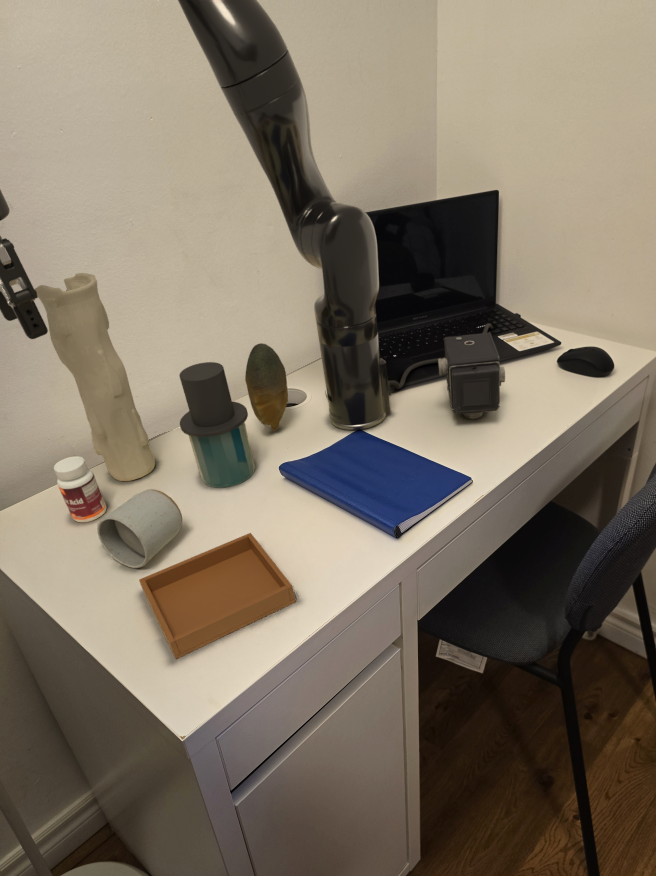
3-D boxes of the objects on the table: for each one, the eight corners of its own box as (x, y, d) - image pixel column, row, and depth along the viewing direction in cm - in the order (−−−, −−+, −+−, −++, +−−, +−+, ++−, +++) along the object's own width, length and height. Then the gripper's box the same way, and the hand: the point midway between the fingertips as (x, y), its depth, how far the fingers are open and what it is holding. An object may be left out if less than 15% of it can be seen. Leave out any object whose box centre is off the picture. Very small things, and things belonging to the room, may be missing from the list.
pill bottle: (65, 520, 93) (42, 471, 88) (88, 501, 96) (67, 452, 91) (92, 525, 91) (70, 475, 86) (114, 505, 95) (94, 456, 90)
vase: (119, 492, 97) (40, 291, 80) (93, 473, 103) (15, 281, 85) (169, 466, 102) (105, 271, 85) (142, 450, 107) (77, 263, 90)
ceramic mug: (193, 534, 87) (177, 486, 83) (154, 573, 81) (134, 524, 77) (131, 522, 91) (112, 475, 87) (89, 559, 85) (67, 511, 81)
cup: (243, 453, 103) (230, 401, 98) (263, 474, 98) (250, 421, 92) (194, 471, 100) (179, 419, 95) (212, 494, 95) (196, 440, 89)
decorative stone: (269, 416, 113) (251, 333, 104) (302, 418, 111) (287, 333, 103) (247, 445, 105) (226, 358, 97) (282, 447, 104) (264, 358, 95)
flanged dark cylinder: (235, 407, 100) (221, 351, 95) (260, 430, 93) (247, 371, 88) (174, 427, 96) (157, 370, 91) (196, 454, 89) (178, 393, 84)
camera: (436, 398, 115) (444, 432, 102) (432, 334, 109) (440, 361, 96) (497, 392, 114) (513, 426, 101) (496, 327, 109) (513, 354, 96)
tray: (254, 547, 83) (250, 532, 82) (296, 601, 75) (292, 585, 73) (145, 595, 78) (138, 579, 77) (175, 659, 69) (169, 643, 68)
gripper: (8, 170, 62) (80, 329, 72) (-31, 158, 71) (38, 301, 81) (-76, 193, 59) (12, 357, 69) (-105, 177, 68) (-23, 324, 78)
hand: (26, 326), depth 75 cm, fingers open, 8 cm apart
